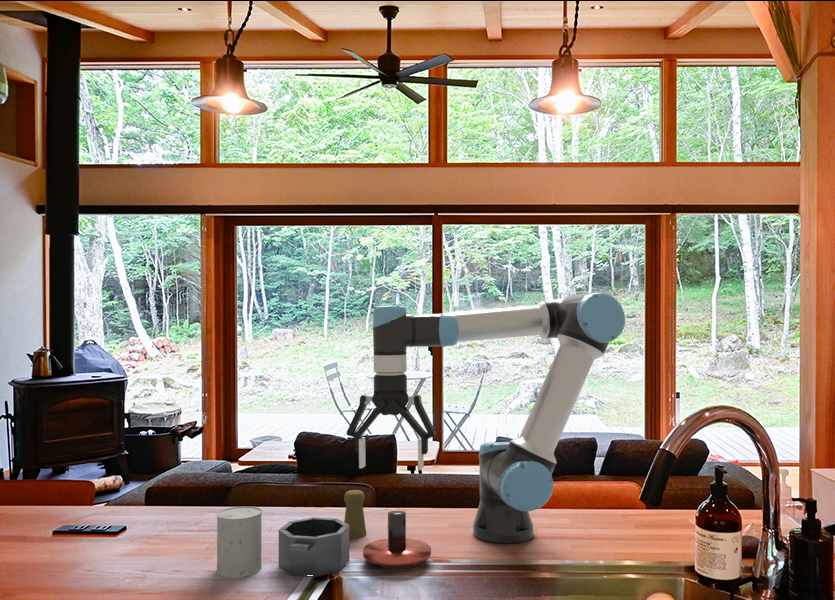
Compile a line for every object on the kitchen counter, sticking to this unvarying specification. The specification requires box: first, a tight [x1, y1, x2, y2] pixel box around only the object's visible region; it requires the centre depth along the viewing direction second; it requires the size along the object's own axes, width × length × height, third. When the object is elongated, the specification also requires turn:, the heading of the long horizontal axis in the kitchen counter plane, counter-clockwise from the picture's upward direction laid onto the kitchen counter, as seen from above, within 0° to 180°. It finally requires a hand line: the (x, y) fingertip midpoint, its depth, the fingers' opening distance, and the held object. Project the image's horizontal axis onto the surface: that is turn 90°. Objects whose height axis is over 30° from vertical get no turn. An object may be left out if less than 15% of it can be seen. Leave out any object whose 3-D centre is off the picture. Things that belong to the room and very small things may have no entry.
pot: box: [278, 516, 350, 578], centre depth 146 cm, size 14×19×8 cm
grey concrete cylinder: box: [216, 505, 263, 579], centre depth 143 cm, size 10×10×12 cm
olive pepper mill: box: [343, 489, 367, 540], centre depth 166 cm, size 6×6×11 cm
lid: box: [362, 510, 432, 571], centre depth 146 cm, size 15×15×11 cm
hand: (391, 468), depth 148 cm, fingers open, 13 cm apart
